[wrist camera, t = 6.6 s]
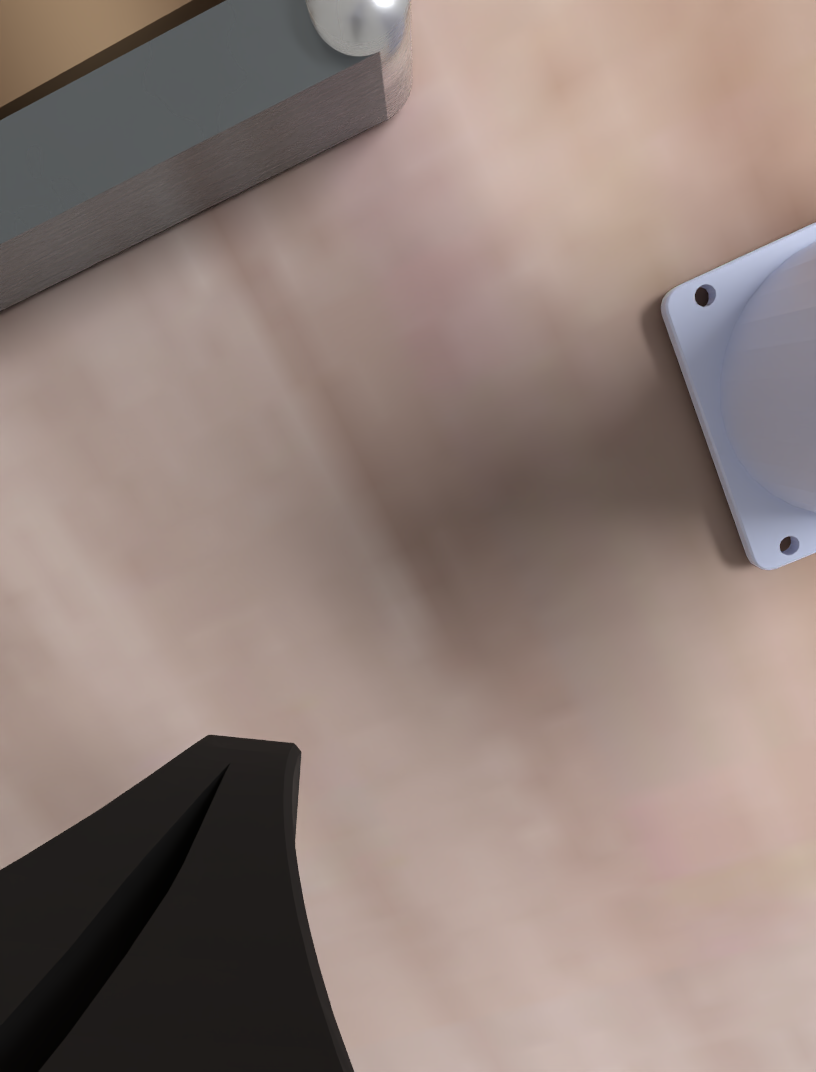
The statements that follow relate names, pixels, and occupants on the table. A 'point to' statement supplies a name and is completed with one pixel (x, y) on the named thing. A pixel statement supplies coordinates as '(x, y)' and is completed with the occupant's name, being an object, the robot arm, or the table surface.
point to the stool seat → (75, 40)
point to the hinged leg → (190, 126)
